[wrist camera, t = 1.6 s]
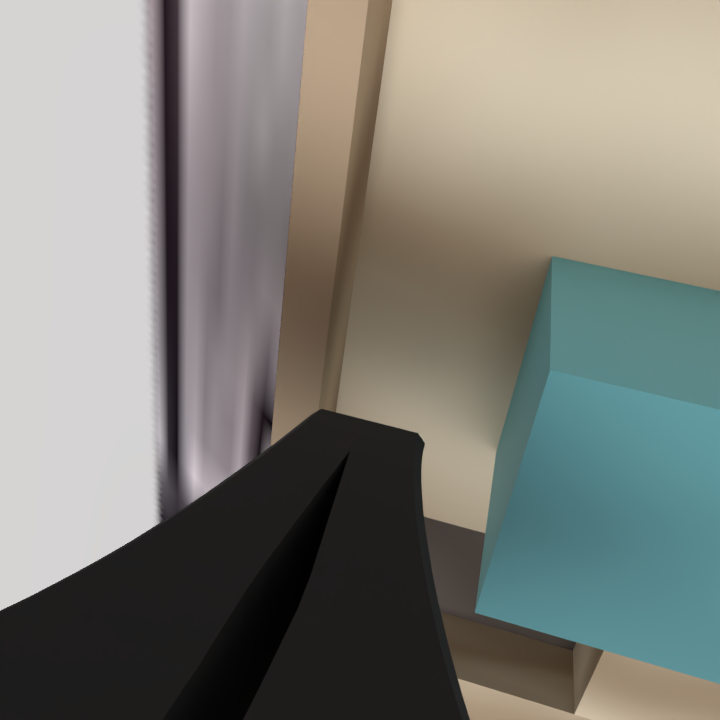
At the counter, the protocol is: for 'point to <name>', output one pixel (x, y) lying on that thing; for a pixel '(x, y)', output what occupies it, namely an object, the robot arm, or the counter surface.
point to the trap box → (490, 260)
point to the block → (613, 472)
